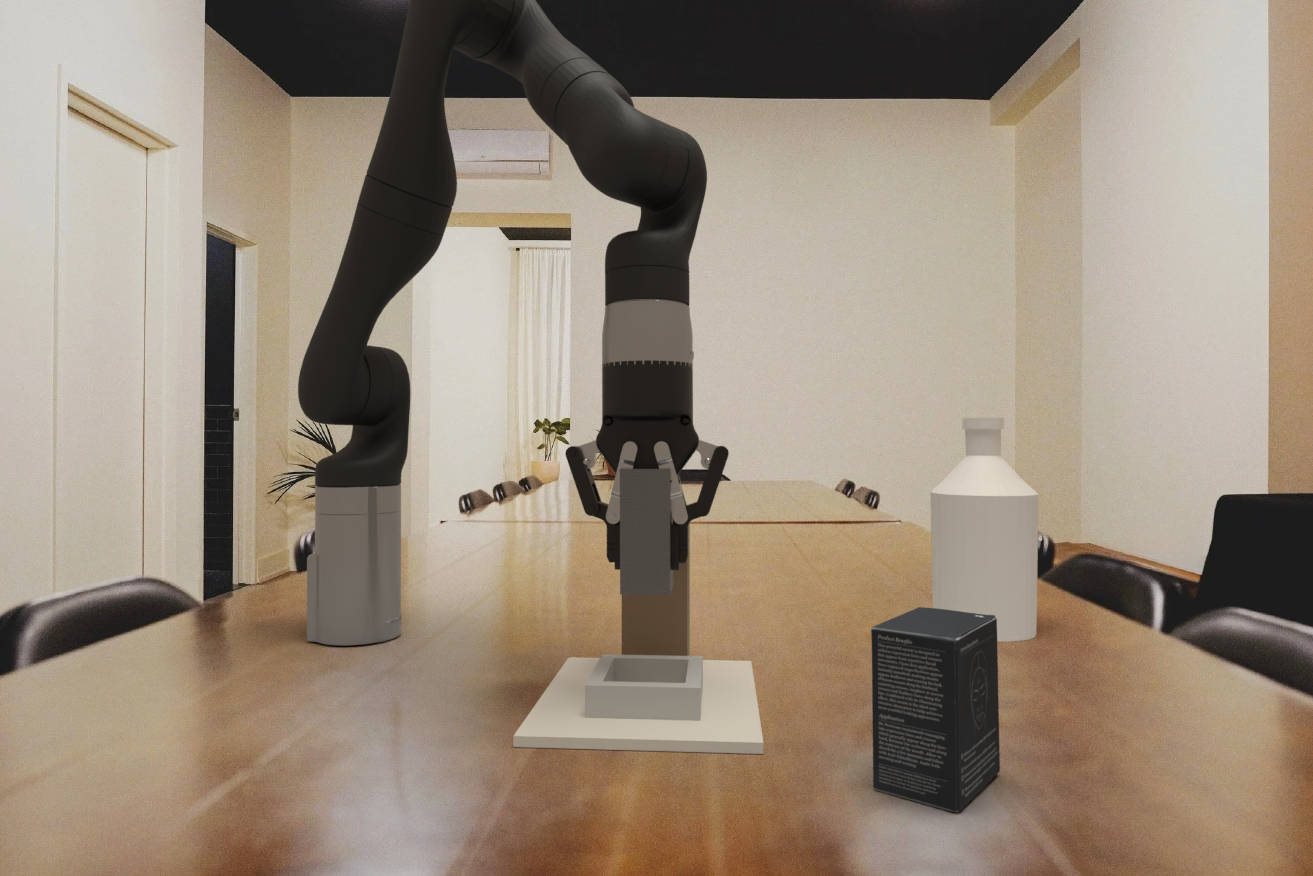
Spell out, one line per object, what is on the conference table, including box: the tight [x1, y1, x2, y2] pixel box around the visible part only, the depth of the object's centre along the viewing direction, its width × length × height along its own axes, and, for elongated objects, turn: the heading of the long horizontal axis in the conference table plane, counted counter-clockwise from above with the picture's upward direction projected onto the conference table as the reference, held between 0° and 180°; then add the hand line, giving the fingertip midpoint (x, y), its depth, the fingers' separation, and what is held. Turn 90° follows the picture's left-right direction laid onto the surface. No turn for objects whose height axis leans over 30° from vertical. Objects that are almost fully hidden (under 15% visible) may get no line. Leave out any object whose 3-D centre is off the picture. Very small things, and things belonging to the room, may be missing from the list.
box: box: [870, 606, 1001, 813], centre depth 53 cm, size 8×6×11 cm
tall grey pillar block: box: [619, 468, 674, 595], centre depth 68 cm, size 4×5×10 cm
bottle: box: [929, 417, 1040, 643], centre depth 97 cm, size 12×12×25 cm
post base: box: [512, 522, 764, 755], centre depth 70 cm, size 18×22×15 cm
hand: (648, 567), depth 68 cm, fingers closed on tall grey pillar block, 4 cm apart
